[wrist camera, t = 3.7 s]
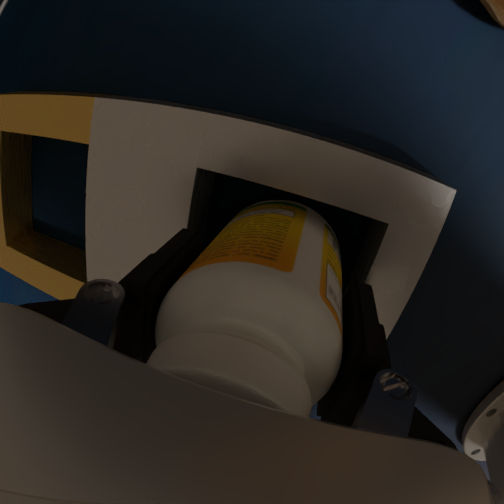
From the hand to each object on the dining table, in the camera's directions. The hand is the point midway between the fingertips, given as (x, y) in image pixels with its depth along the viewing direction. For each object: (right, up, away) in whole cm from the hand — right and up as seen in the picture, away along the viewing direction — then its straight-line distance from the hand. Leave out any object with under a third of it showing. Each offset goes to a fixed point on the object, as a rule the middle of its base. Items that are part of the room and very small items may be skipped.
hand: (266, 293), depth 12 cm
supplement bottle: (+1, +1, +3) cm, 4 cm away
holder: (-5, +3, +4) cm, 7 cm away
